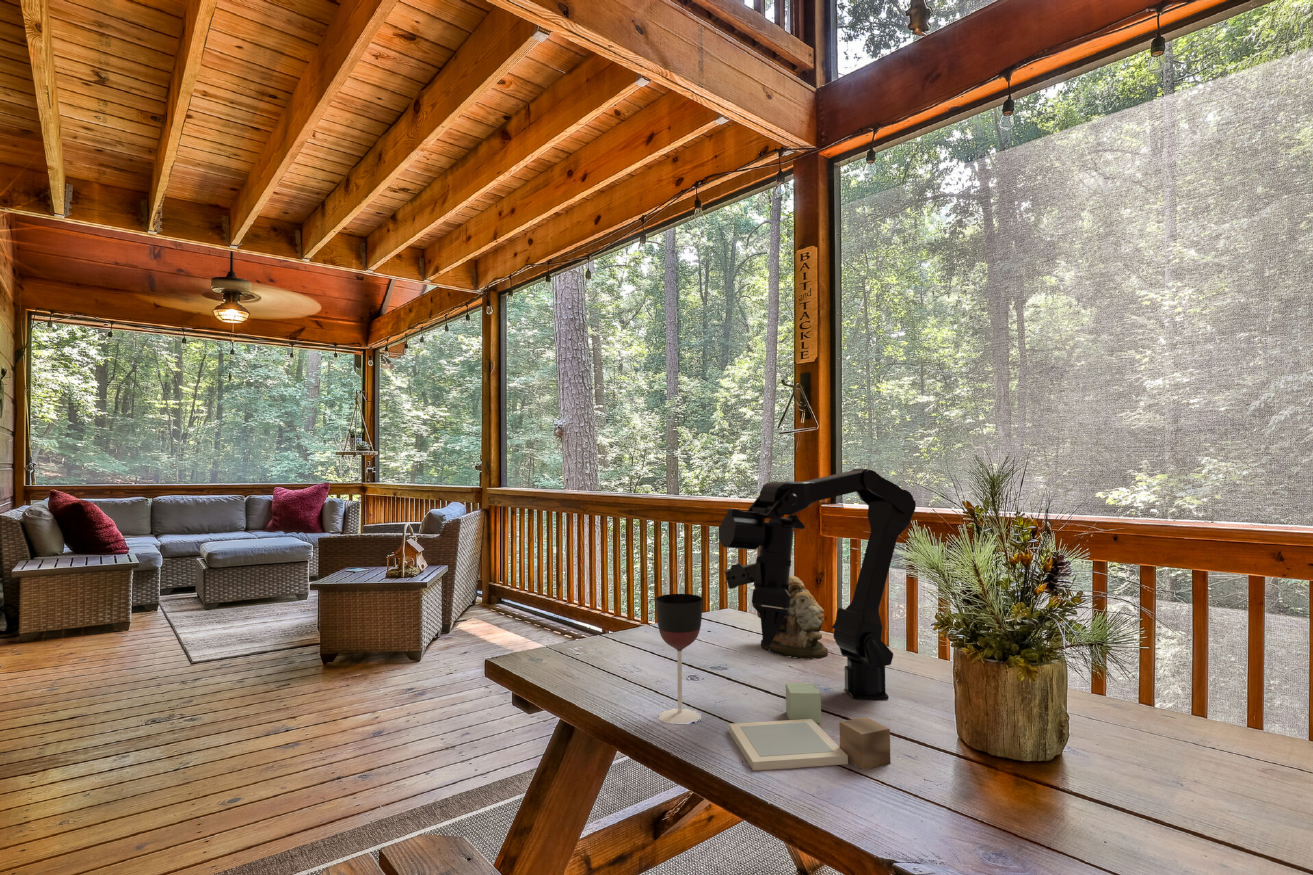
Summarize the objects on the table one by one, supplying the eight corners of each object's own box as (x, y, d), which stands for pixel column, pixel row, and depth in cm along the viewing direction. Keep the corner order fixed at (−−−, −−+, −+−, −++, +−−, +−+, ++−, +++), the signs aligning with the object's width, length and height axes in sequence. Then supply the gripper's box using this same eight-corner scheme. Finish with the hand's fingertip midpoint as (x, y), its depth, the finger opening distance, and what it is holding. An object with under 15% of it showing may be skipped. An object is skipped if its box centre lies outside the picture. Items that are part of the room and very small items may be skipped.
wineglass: (707, 709, 117) (706, 595, 117) (697, 728, 108) (696, 604, 109) (664, 705, 119) (663, 592, 120) (650, 723, 110) (650, 602, 111)
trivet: (811, 726, 109) (811, 718, 109) (847, 764, 95) (847, 755, 95) (728, 731, 107) (728, 723, 107) (753, 770, 93) (753, 761, 93)
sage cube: (815, 712, 115) (814, 683, 115) (821, 723, 110) (820, 693, 110) (786, 712, 115) (785, 683, 116) (790, 723, 110) (790, 693, 111)
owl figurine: (745, 647, 157) (744, 574, 158) (774, 638, 165) (773, 569, 166) (811, 663, 144) (809, 583, 145) (839, 652, 152) (838, 577, 153)
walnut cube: (866, 750, 100) (866, 716, 100) (890, 764, 95) (889, 728, 95) (839, 756, 98) (839, 721, 98) (862, 770, 93) (862, 734, 93)
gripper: (733, 543, 129) (725, 625, 127) (726, 549, 111) (716, 644, 109) (791, 551, 127) (783, 633, 125) (794, 557, 108) (785, 654, 107)
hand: (766, 640), depth 117 cm, fingers open, 9 cm apart
